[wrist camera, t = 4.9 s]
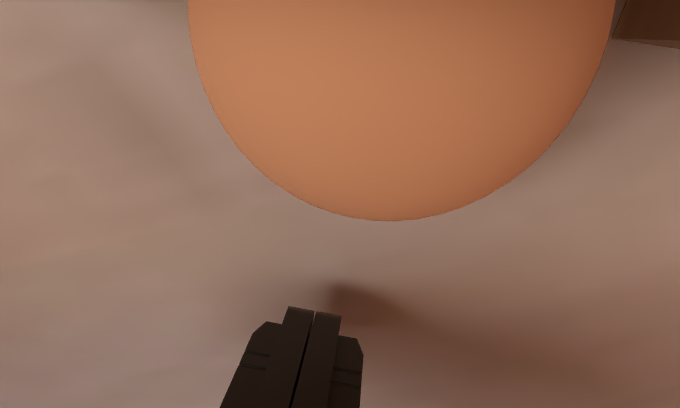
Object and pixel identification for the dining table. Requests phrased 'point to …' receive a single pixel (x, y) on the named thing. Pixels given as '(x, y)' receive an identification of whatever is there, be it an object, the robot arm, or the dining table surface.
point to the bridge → (650, 22)
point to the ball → (396, 93)
